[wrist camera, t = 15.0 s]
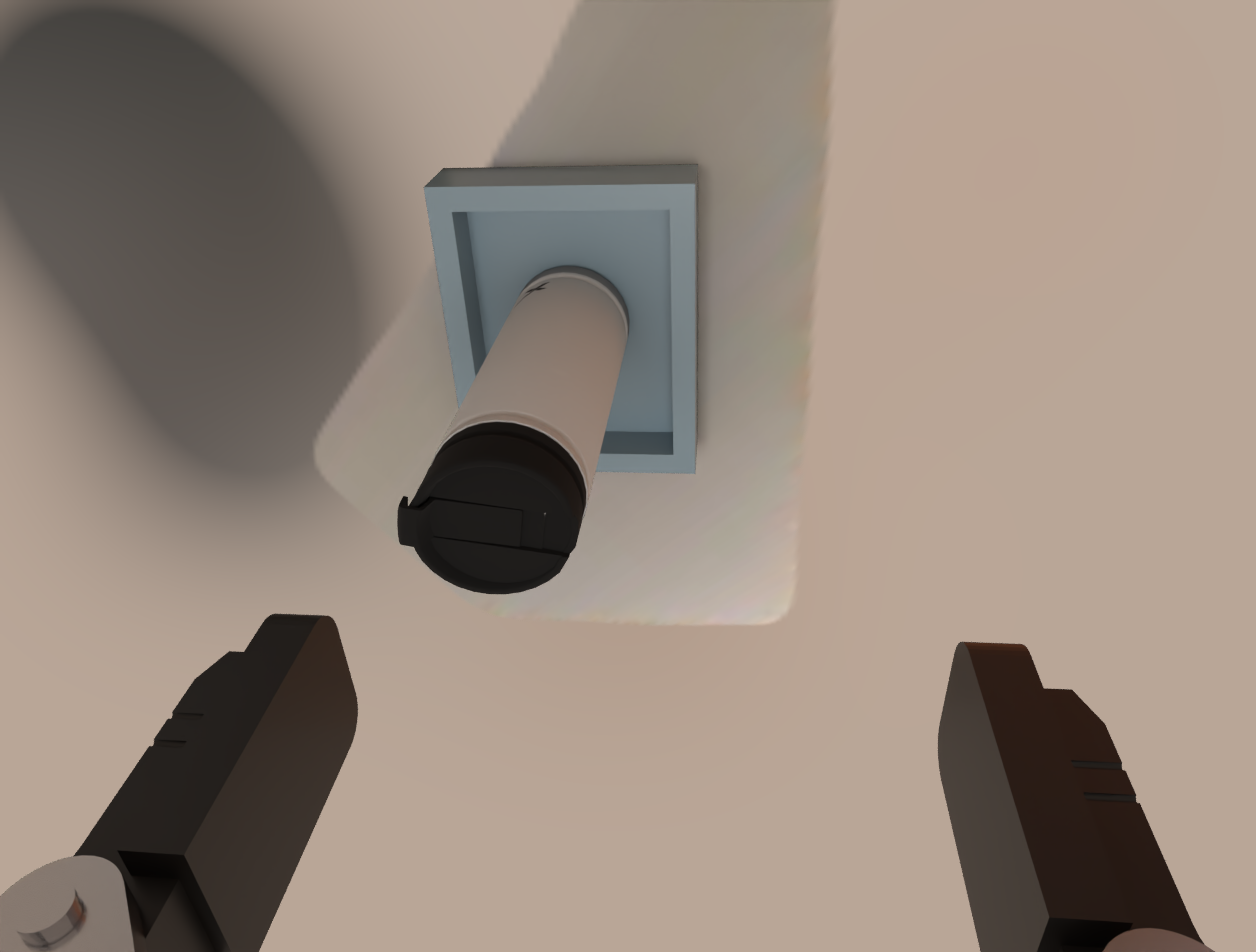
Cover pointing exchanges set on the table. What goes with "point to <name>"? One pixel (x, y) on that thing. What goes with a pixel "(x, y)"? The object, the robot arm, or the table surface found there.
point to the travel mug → (524, 440)
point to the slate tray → (598, 241)
